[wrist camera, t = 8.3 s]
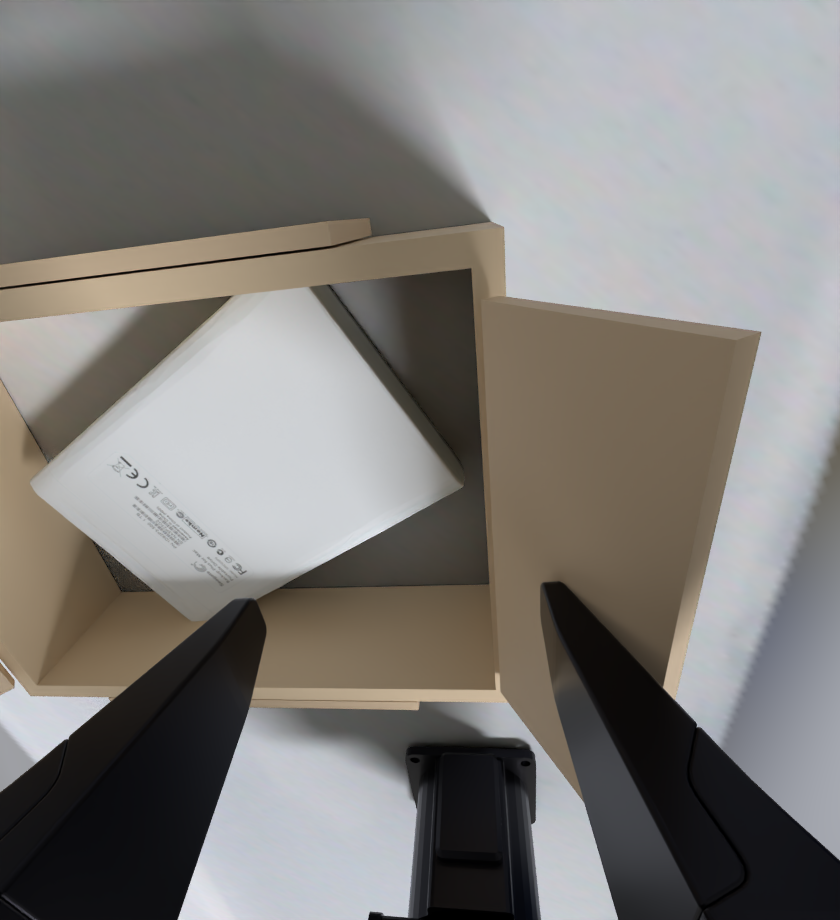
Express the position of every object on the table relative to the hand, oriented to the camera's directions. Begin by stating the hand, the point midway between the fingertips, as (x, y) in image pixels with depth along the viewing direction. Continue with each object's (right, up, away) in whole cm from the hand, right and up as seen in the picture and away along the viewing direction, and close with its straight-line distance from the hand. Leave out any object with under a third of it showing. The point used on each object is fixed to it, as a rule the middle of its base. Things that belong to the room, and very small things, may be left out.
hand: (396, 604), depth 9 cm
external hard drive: (-5, +3, +7) cm, 9 cm away
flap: (+3, 0, 0) cm, 3 cm away
